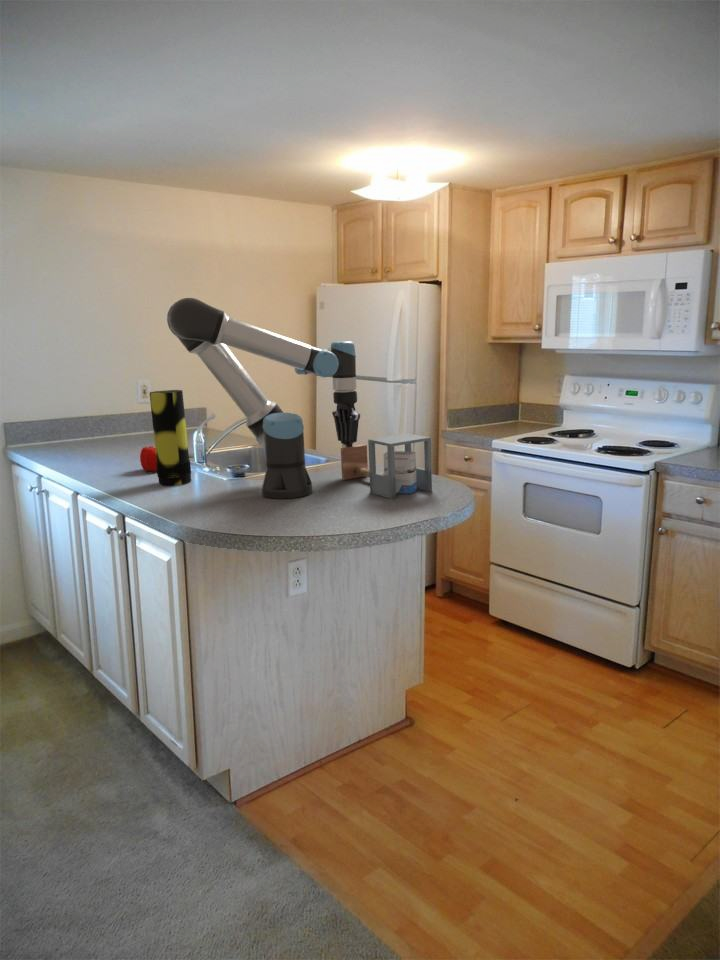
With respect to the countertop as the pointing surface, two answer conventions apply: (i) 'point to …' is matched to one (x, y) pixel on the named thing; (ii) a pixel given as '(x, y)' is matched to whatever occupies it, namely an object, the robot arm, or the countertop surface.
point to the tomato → (148, 459)
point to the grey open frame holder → (387, 483)
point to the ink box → (403, 471)
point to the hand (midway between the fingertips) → (348, 463)
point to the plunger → (354, 462)
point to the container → (170, 437)
